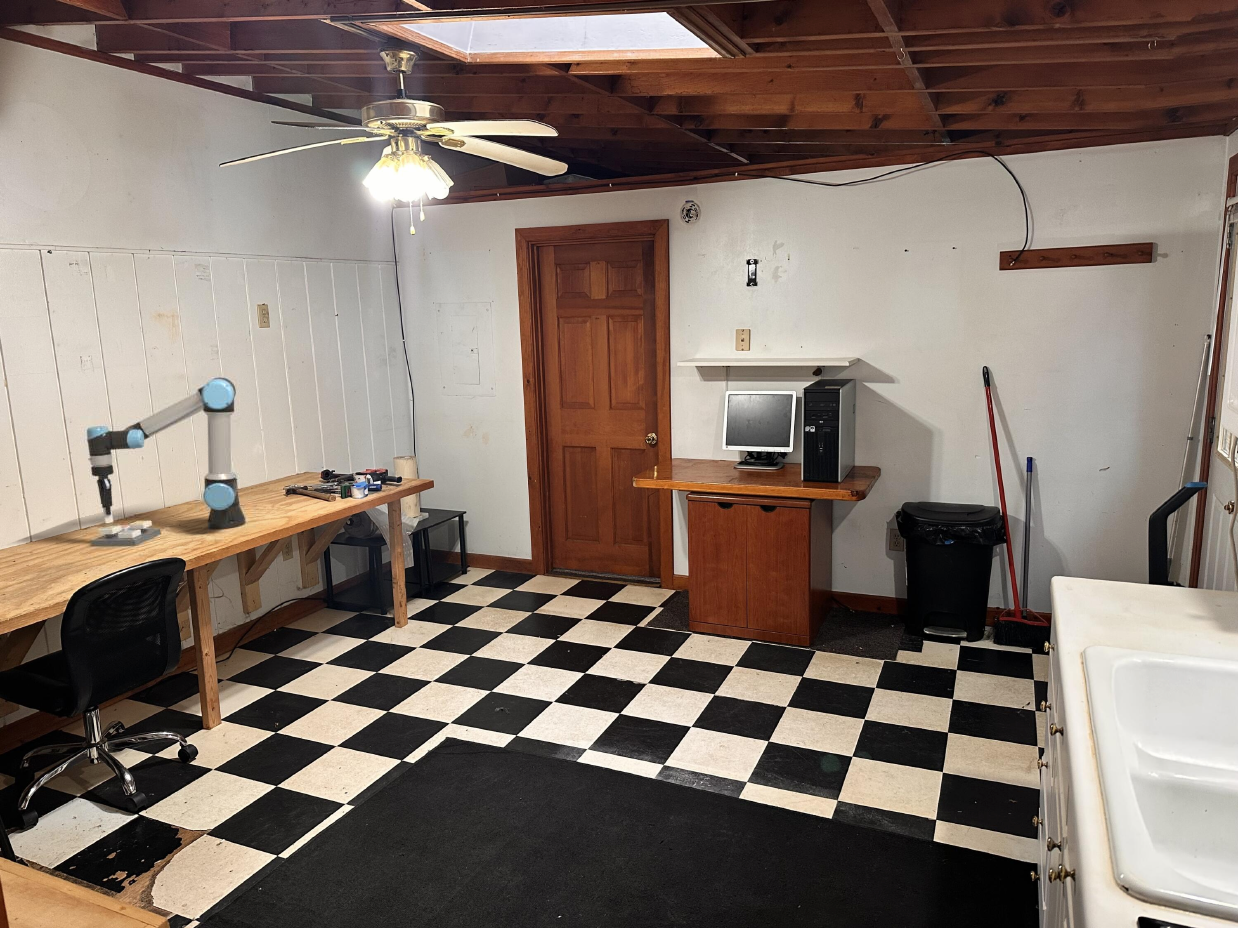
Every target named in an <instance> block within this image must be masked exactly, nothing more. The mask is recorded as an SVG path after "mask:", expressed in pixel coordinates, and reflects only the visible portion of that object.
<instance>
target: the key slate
mask: <svg viewBox="0 0 1238 928" xmlns="http://www.w3.org/2000/svg"><path fill="white" fill-rule="evenodd" d="M139 535H141V530H125V531H123V532H121V533H118V537H119V538H134V537H137V536H139Z"/></svg>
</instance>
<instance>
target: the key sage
mask: <svg viewBox="0 0 1238 928" xmlns="http://www.w3.org/2000/svg"><path fill="white" fill-rule="evenodd" d="M97 531H98V535H106V538H113V537H115V536H116V535H115V533H117V532H119V531H122V529H121V526H119V525H106V526H103V527H101V528H99V529H97Z"/></svg>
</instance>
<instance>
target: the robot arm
mask: <svg viewBox="0 0 1238 928" xmlns="http://www.w3.org/2000/svg"><path fill="white" fill-rule="evenodd" d="M236 390H237V389H236V385H234V383H233V382H232V381H231V380H230V379H229V378H225V377H215V378H213V379H211V380H209V381H207V382H206V383H205V384H204V385H203V386H201V387H198V388H197V390H196V393H193V394H191V395H189V396H188V397H186V398H184V399H182V400H180V401H178V402H175V403H173V404H172V405H169V406H167V407H165V408H164V409H162V410H160V411H157V412H156V413H153V414H152V415H149V416H147V417H145V418H143V419H141V420H139V421H138V422H135V423H133V424H131V425H129V426H127V427H125V429H123V430H110V429H109V427H108V426H104V425H103V426H102V425H101V426H100V425H99V426H91V427H88V428H87V429H86V435H87V436H86V437H87V438H86V441H87V446H88V453H89V458H88V461H89V462H90V465H91V468H90V469H91V470H90V472H91V475H92V476H93V477H97V478H98V479H96V483H97V486H98V487H97V488H98V494H99V498H100V504H101V508H102V510H103V519H104V523H105V524H109V523H114V517H113V509H112V507H113V505H114V504H113V496H112V494H113V493H112V487H113V485H112V483H111V479H110V478H109V476H111V475H113V474H114V466H113V456H112V451H114V450H136V449H141V448H142V449H143V447H144V445H145V441H146V440H147V439H149V438H151V437H154V436H155V435H156V434H159V433H160V432H164V431H165V430H167V429H168V428H170V427H172V426H175V425H177V424H178V423H181V422H182V421H184V420H186V419H189V418H191V417H192V416H194V415H196V414H198V413H200V412H203V413H204V414H205V415H206V416H207V466H208V469H207V470H208V471H207V474H206V475H204V491H203V494H202V497H203V501H204V503H205V505H206V506H208V508H210V510H209V515H208V519H207V527H208V528H209V529H214V530H222V529H223V530H225V529H231V528H237V527H240V526H244V525H245V524H246V523H247V521H246V516H245V514H244V512H243V510H242V508H241V506H240V496H239V488H238V477H237V473H235V472H232V452H231V450H232V449H231V448H232V447H231V446H232V444H231V443H232V441H231V416H232V414H233V415H234V413H235V397H236V393H237V391H236Z"/></svg>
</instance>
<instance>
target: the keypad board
mask: <svg viewBox="0 0 1238 928" xmlns="http://www.w3.org/2000/svg"><path fill="white" fill-rule="evenodd" d="M134 530H137V529H134ZM161 534H162V532H161V528H146V531H145V532H143V533H141V535H139V536H137V537H134V538H119V537H118V533H115V535H116V536H115V537H113V538H106V534H102V535H101V536H100V537H99V536H98V537H96V538H94V539H92V540H91V542H90V543H91V547H137V546H138V545H140V544H143V543H145V542H147V541H149V540H151V539H154V538H155V537H158V536H160V535H161Z"/></svg>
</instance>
